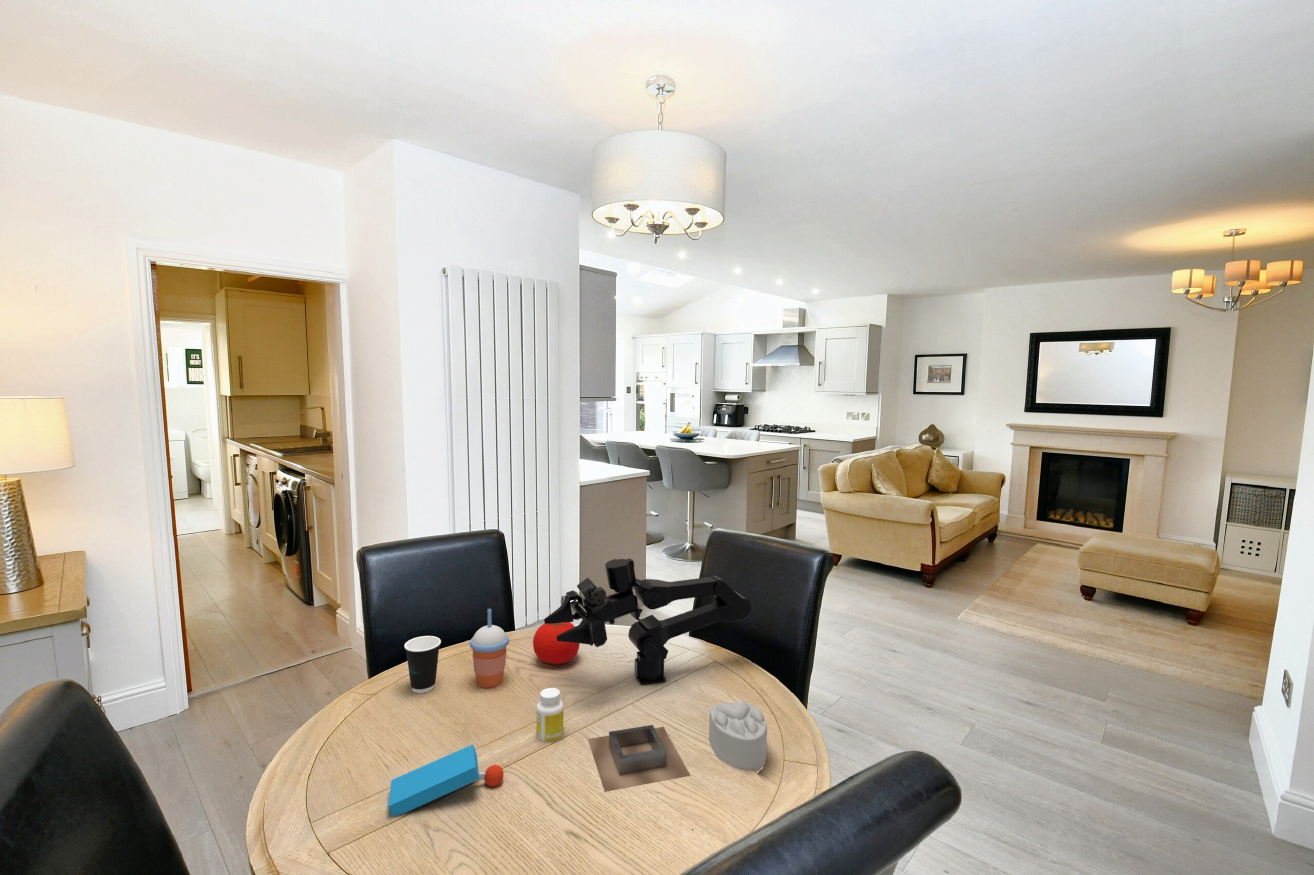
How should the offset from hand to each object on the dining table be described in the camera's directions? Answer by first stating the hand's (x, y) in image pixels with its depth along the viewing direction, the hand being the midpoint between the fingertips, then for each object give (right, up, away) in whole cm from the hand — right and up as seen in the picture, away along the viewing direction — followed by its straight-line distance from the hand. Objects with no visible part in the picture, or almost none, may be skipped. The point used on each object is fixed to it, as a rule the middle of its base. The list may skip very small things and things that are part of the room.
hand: (550, 629), depth 134 cm
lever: (-13, -19, -30) cm, 38 cm away
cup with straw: (-16, -16, +9) cm, 24 cm away
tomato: (-2, -15, +20) cm, 25 cm away
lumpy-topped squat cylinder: (+40, -19, -17) cm, 48 cm away
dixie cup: (-31, -16, +5) cm, 35 cm away
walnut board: (+20, -19, -21) cm, 34 cm away
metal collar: (+20, -17, -21) cm, 34 cm away
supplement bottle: (+2, -18, -14) cm, 23 cm away
